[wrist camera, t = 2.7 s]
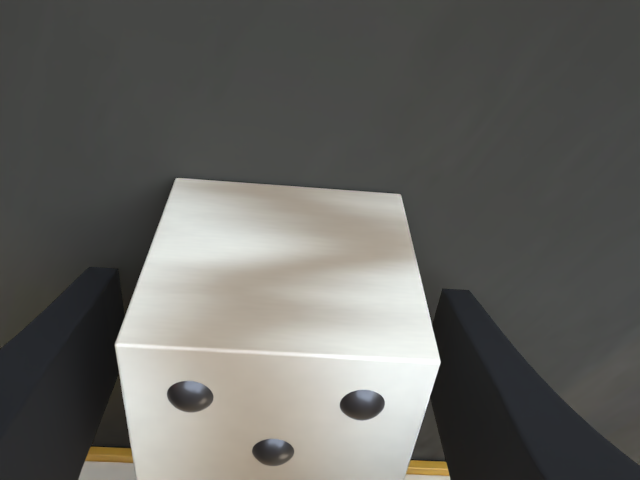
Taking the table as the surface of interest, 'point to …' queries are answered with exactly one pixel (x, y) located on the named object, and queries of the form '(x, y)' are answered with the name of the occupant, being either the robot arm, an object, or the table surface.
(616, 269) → the table surface
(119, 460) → the book
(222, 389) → the die
